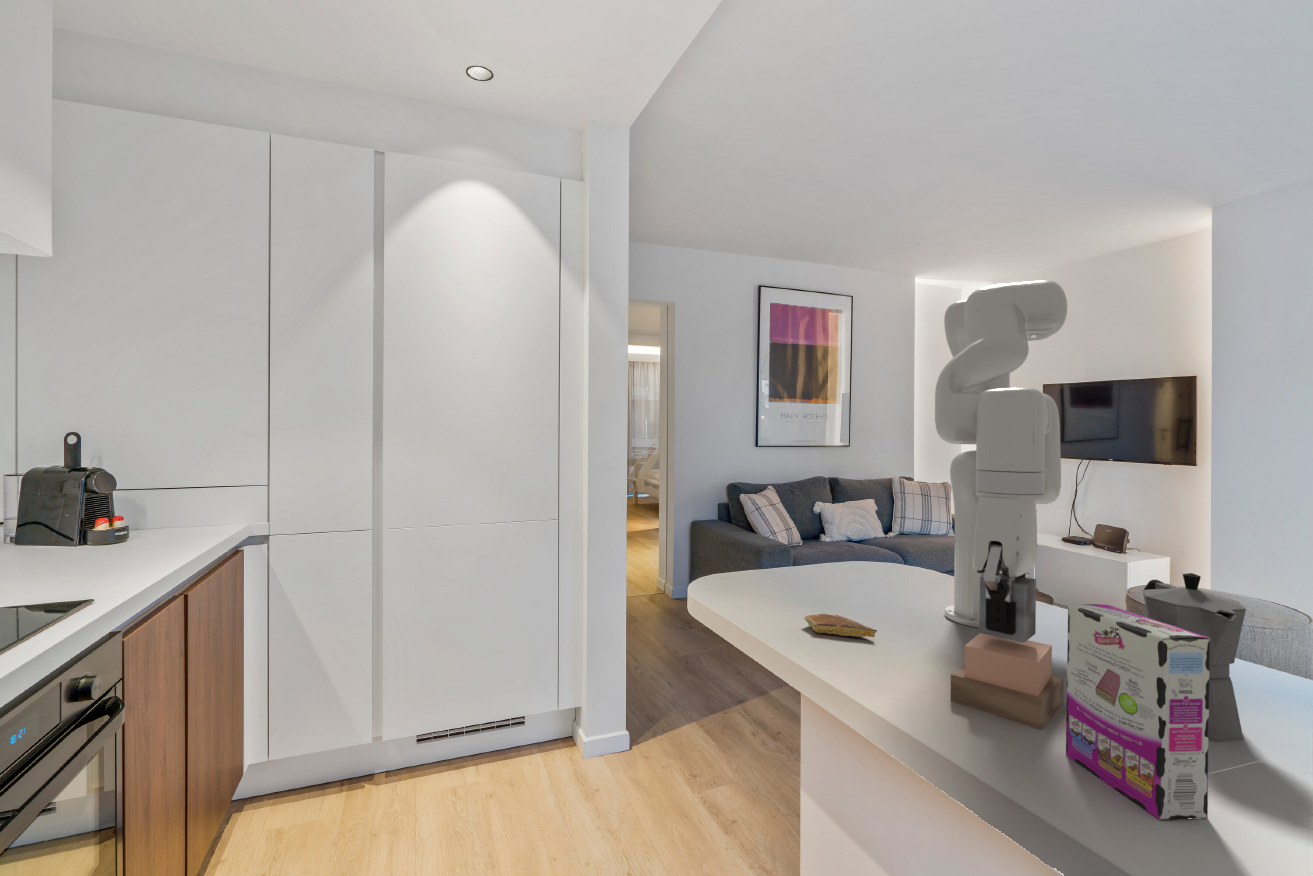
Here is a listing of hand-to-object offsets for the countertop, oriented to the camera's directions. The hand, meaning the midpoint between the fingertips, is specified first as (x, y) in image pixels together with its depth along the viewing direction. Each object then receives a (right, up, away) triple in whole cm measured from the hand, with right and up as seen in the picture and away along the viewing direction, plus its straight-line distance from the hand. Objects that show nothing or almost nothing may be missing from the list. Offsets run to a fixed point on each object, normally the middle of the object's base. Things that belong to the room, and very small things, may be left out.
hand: (1007, 625), depth 75 cm
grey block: (0, -1, 0) cm, 1 cm away
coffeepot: (+19, -10, -4) cm, 22 cm away
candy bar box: (+2, -10, -18) cm, 20 cm away
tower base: (0, -10, 0) cm, 10 cm away
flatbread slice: (-9, -11, +26) cm, 30 cm away
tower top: (0, -6, -1) cm, 6 cm away
